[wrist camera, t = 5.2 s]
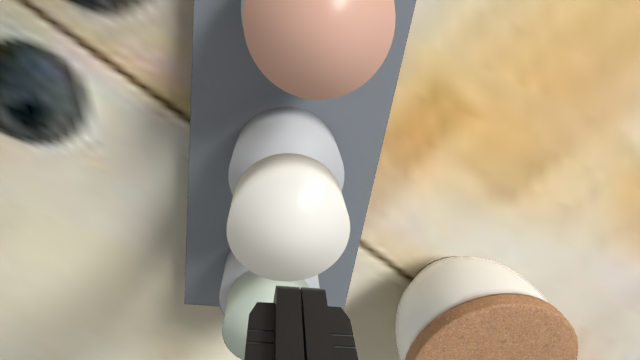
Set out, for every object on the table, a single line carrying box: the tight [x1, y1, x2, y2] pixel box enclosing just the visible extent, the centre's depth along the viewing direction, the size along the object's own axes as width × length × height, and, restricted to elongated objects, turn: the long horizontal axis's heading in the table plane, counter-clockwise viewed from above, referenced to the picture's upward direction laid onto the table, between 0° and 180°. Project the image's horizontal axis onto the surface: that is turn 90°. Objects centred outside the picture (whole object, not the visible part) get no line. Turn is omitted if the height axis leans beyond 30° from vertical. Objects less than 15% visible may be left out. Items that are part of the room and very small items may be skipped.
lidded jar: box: [395, 256, 578, 360], centre depth 28 cm, size 11×11×9 cm
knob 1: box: [222, 271, 310, 360], centre depth 23 cm, size 5×5×2 cm
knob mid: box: [227, 153, 350, 282], centre depth 18 cm, size 5×5×2 cm
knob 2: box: [243, 0, 396, 100], centre depth 15 cm, size 5×5×2 cm
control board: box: [185, 0, 416, 316], centre depth 24 cm, size 23×11×5 cm, turn 171°
